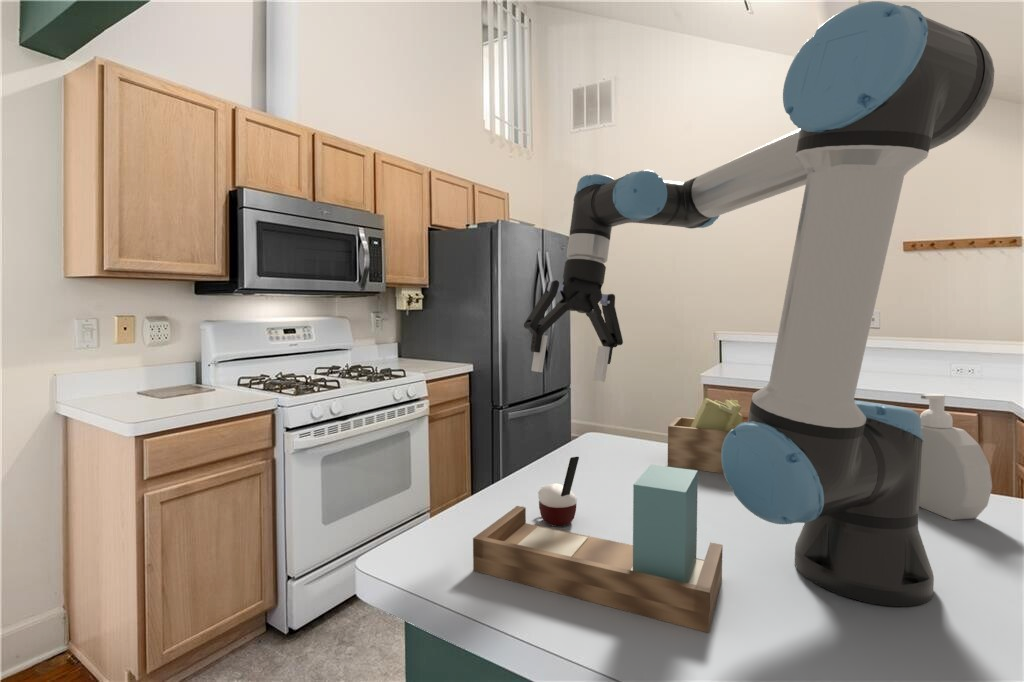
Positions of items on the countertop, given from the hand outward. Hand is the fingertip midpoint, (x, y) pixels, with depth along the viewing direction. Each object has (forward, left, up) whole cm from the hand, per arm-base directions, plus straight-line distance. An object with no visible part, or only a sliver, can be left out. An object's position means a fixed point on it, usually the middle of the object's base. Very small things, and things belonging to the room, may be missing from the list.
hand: (568, 376), depth 96 cm
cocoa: (-2, +11, -23) cm, 26 cm away
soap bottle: (-58, -25, -23) cm, 68 cm away
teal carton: (-22, +24, -21) cm, 38 cm away
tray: (-13, +24, -23) cm, 36 cm away
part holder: (-25, -35, -23) cm, 49 cm away
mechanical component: (-25, -35, -23) cm, 49 cm away
